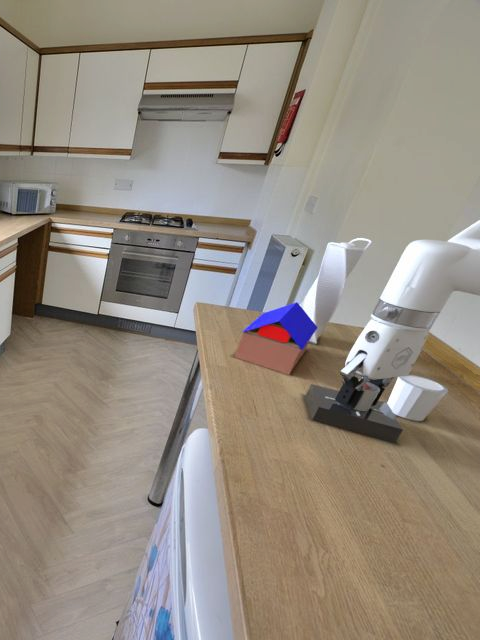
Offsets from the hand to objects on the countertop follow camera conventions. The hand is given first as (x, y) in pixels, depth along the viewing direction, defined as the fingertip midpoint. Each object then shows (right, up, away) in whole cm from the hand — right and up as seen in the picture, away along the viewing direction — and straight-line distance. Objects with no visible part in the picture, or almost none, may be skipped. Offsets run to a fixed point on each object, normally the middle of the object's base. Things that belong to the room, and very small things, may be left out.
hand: (354, 402), depth 78 cm
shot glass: (+14, -3, +4) cm, 15 cm away
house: (+3, +8, +26) cm, 28 cm away
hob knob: (0, 0, 0) cm, 0 cm away
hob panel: (0, -3, +2) cm, 4 cm away
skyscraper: (+20, +12, +36) cm, 43 cm away
